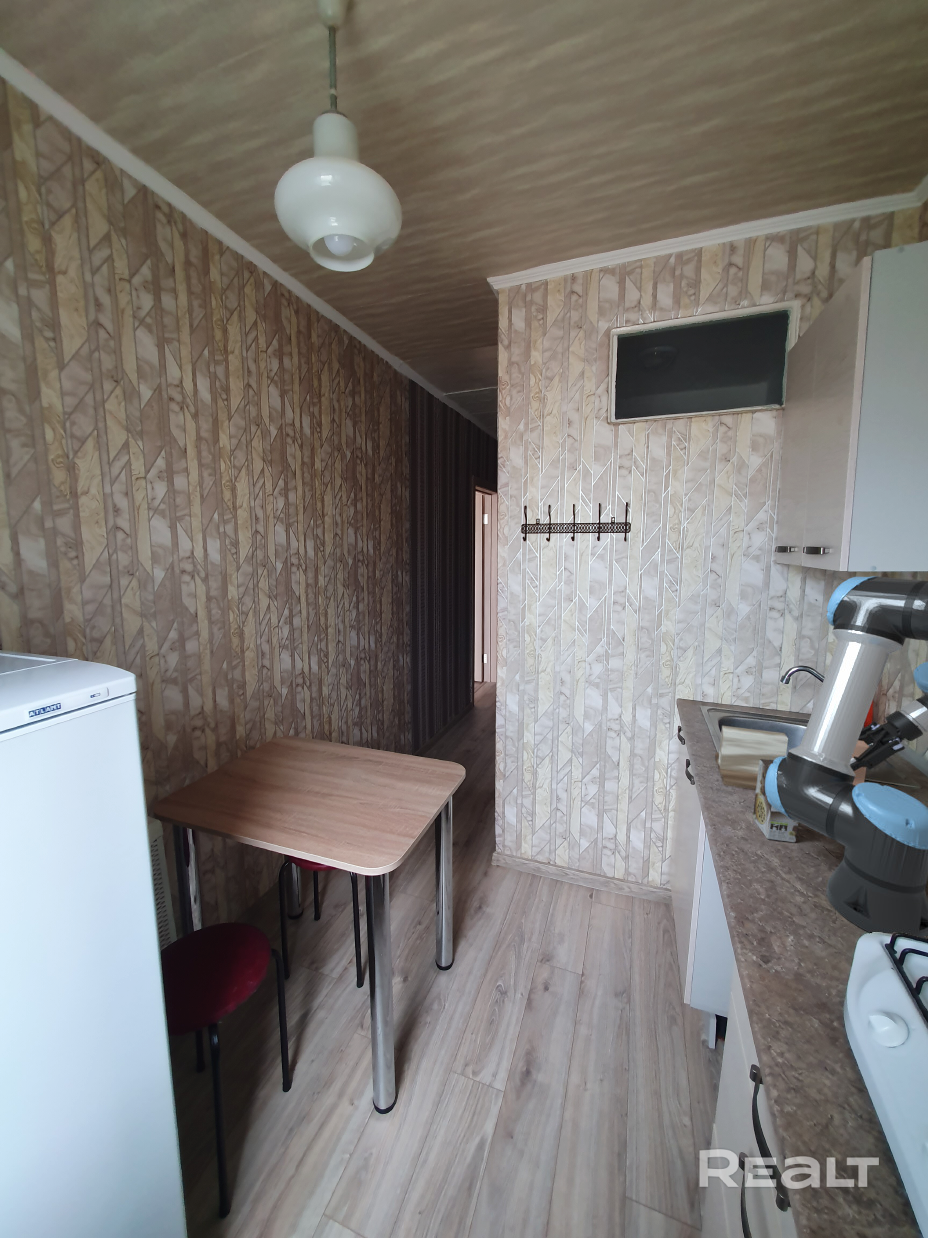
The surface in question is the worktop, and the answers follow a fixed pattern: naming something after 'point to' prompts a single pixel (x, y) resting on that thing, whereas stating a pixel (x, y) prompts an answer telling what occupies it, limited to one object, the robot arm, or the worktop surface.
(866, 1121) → the worktop surface
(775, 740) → the beige and brown block
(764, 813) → the coffee box
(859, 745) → the pink beveled block
